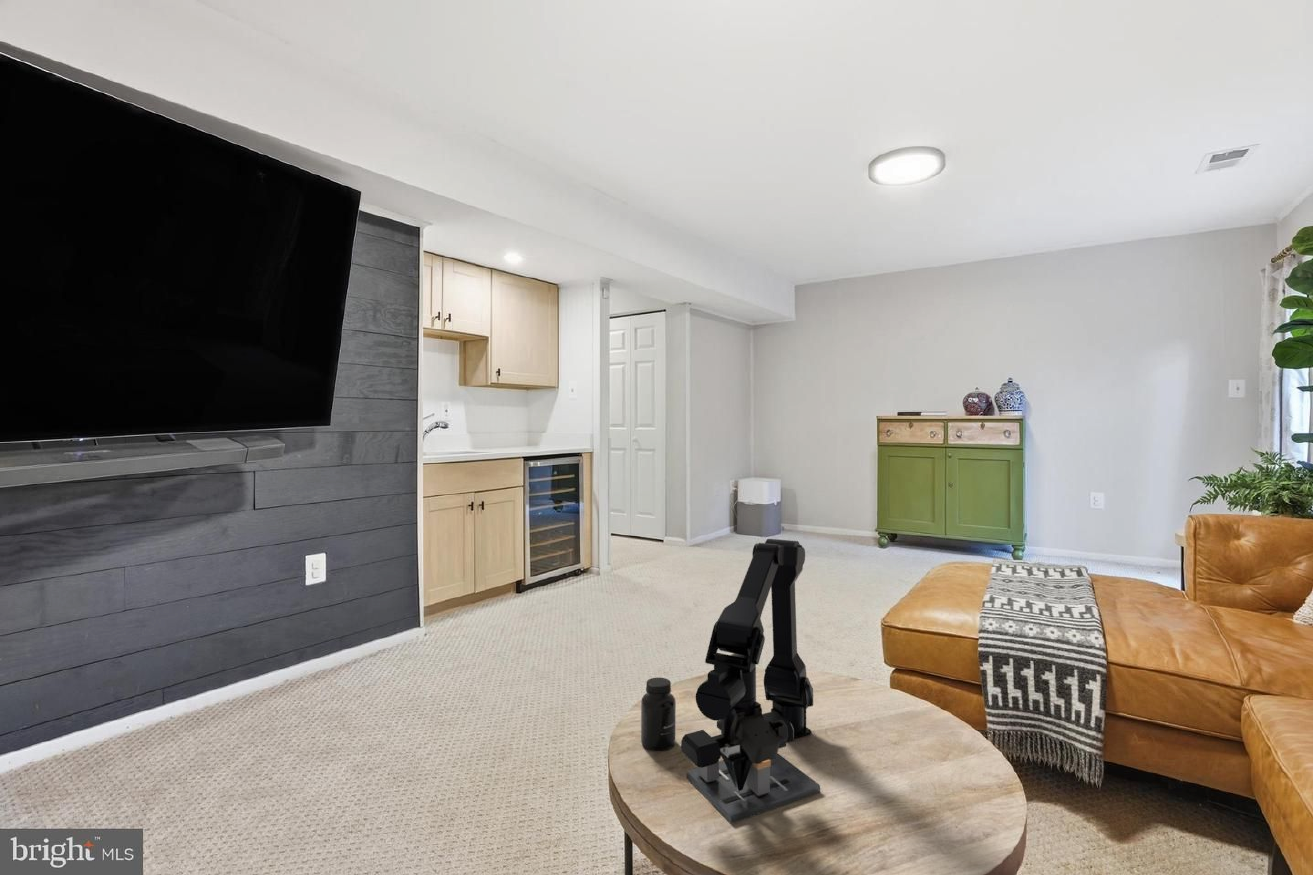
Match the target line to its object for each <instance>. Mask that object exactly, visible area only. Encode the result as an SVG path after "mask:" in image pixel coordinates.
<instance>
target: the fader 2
mask: <svg viewBox="0 0 1313 875" xmlns="http://www.w3.org/2000/svg"><path fill="white" fill-rule="evenodd" d="M770 766H771V760H766V761H763V762H761V763H759V764H755V763H752V765H751V768H750V770H749V773H748V776H747V786H748V787H749V788H750V789H751V790H752V791H753V792H754V793H755V794H756V795H758V796H759V795H762V794H765V793H768V792H770Z"/></svg>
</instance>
